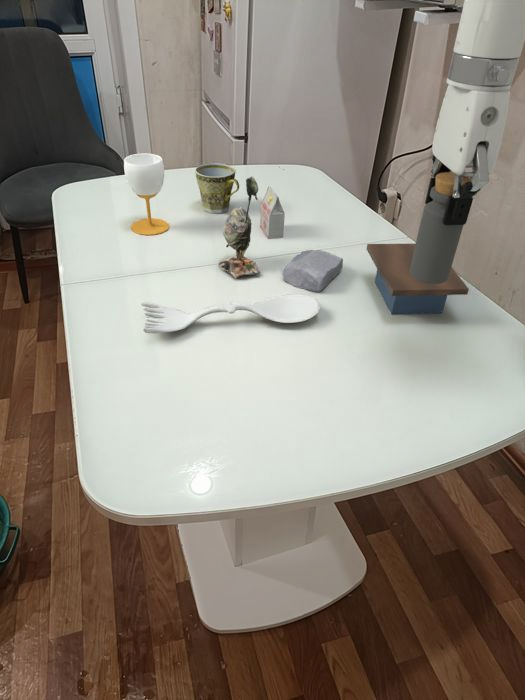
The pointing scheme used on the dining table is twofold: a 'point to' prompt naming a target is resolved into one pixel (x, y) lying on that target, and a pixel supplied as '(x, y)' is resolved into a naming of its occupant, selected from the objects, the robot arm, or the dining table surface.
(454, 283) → the board
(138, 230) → the cup
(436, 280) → the bottle
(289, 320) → the spoon
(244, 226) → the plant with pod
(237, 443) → the dining table surface
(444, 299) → the box
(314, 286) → the stone block
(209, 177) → the ceramic cup
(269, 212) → the milk carton
